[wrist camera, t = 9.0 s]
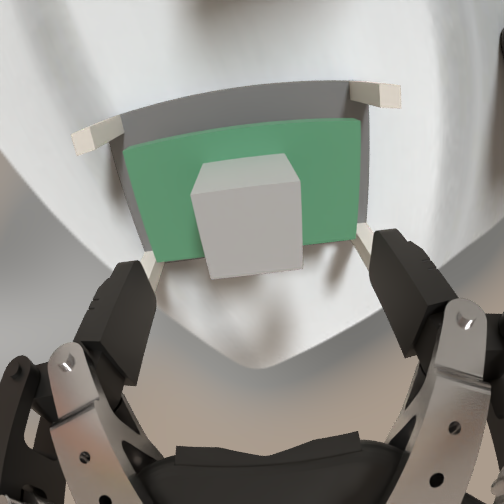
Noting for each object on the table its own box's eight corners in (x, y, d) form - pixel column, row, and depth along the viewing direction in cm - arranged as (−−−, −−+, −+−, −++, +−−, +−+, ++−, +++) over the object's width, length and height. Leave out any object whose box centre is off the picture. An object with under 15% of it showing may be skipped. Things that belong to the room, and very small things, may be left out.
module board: (353, 118, 13) (399, 138, 9) (350, 230, 17) (381, 282, 13) (129, 146, 13) (86, 178, 9) (160, 253, 17) (140, 309, 13)
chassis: (360, 81, 14) (400, 85, 10) (360, 229, 21) (386, 270, 16) (110, 117, 15) (70, 134, 11) (153, 257, 21) (136, 302, 17)
